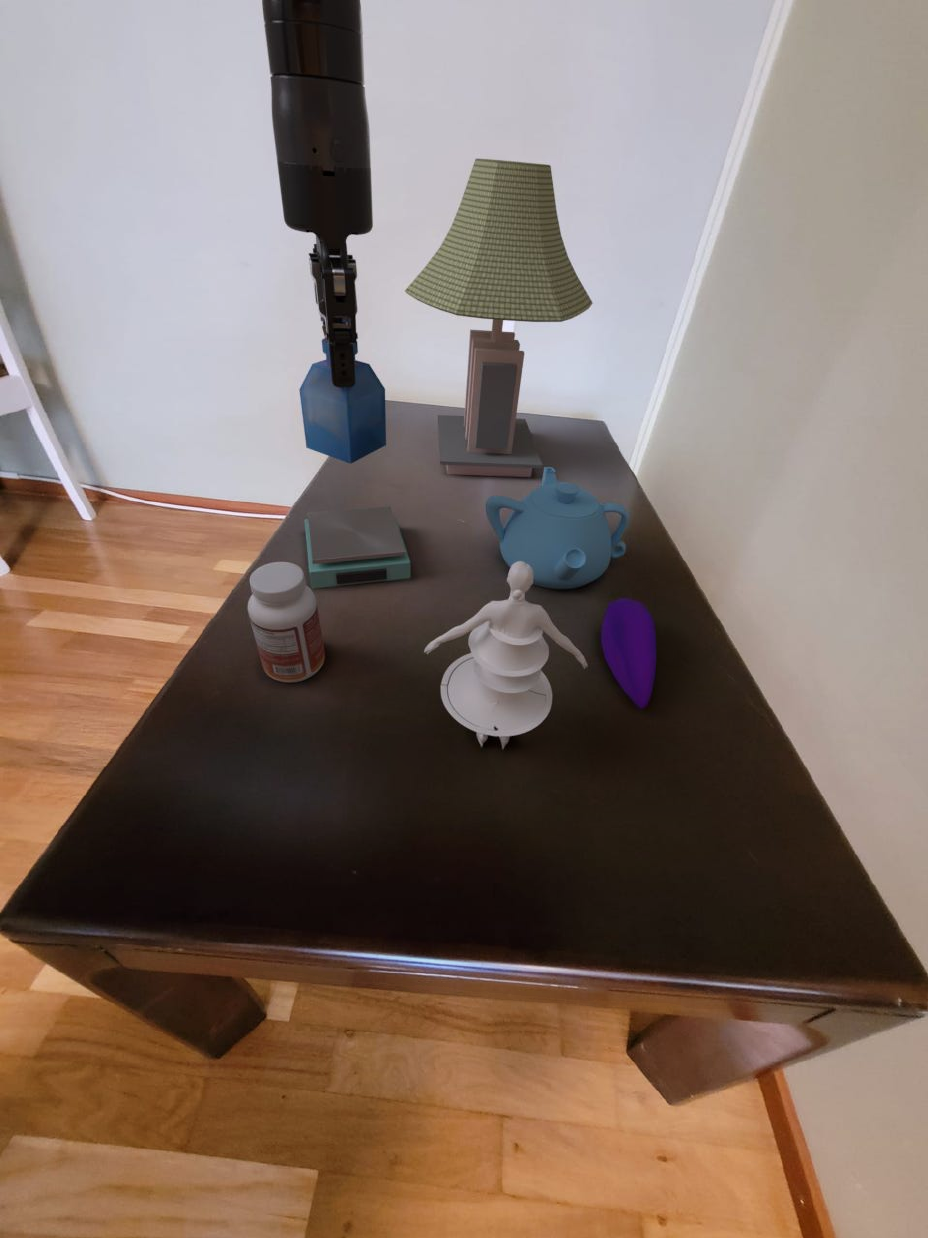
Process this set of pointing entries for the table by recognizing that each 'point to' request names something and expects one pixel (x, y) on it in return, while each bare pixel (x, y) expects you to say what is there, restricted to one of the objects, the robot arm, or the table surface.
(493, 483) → the table surface
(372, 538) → the pan
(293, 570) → the pill bottle
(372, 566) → the scale
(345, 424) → the perfume bottle
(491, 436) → the desk lamp
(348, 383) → the robot arm
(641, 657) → the purple teardrop shape
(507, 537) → the teapot
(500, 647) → the figurine
